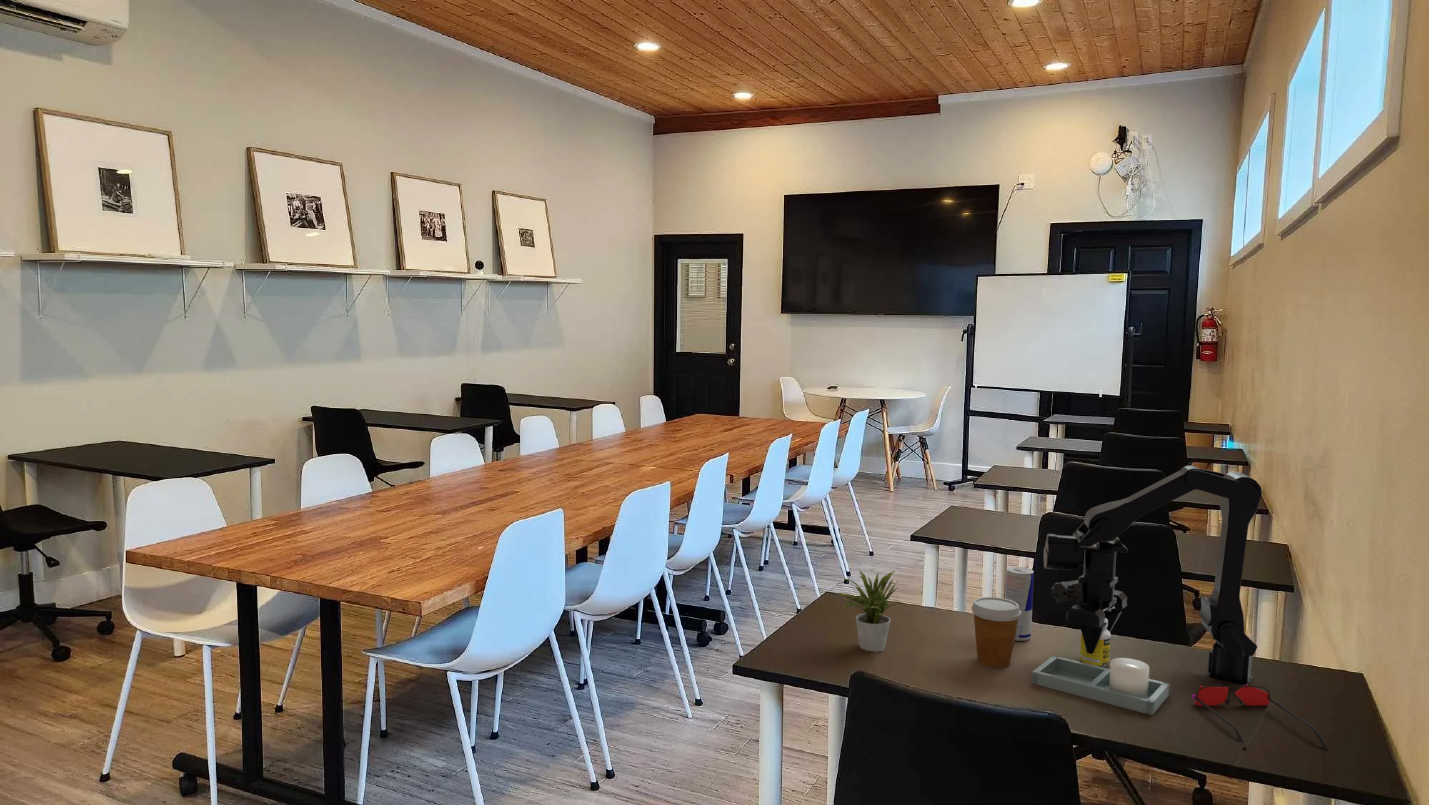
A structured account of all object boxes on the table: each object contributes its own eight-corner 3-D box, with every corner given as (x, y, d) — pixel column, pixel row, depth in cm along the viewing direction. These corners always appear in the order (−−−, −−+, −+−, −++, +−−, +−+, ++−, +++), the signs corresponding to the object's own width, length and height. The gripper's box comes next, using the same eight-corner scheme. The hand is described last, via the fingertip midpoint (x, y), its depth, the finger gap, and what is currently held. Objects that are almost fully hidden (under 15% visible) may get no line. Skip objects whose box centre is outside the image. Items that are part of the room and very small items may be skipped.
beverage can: (1032, 643, 198) (1035, 574, 196) (1004, 641, 199) (1007, 572, 197) (1029, 634, 203) (1032, 566, 202) (1002, 632, 204) (1005, 565, 203)
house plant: (858, 629, 205) (860, 556, 203) (917, 643, 197) (920, 567, 195) (826, 647, 193) (828, 570, 192) (887, 663, 185) (890, 582, 184)
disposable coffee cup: (966, 666, 184) (968, 607, 183) (972, 650, 193) (974, 594, 192) (1016, 674, 181) (1019, 613, 179) (1020, 657, 189) (1023, 600, 188)
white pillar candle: (1151, 696, 169) (1153, 663, 168) (1141, 707, 164) (1143, 674, 164) (1114, 686, 173) (1116, 655, 173) (1103, 697, 168) (1105, 665, 168)
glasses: (1266, 709, 167) (1268, 682, 166) (1329, 753, 150) (1332, 723, 150) (1189, 709, 166) (1191, 682, 166) (1244, 753, 150) (1246, 723, 150)
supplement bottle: (1106, 674, 181) (1109, 625, 180) (1076, 668, 184) (1079, 619, 183) (1111, 665, 186) (1113, 617, 185) (1082, 659, 189) (1084, 612, 188)
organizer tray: (1168, 699, 169) (1169, 683, 169) (1151, 719, 161) (1152, 702, 161) (1052, 670, 183) (1053, 655, 182) (1031, 687, 174) (1032, 671, 174)
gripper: (1073, 555, 195) (1069, 628, 197) (1040, 574, 181) (1037, 652, 183) (1129, 565, 188) (1125, 640, 190) (1100, 585, 174) (1096, 666, 176)
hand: (1095, 649), depth 185 cm, fingers open, 6 cm apart
